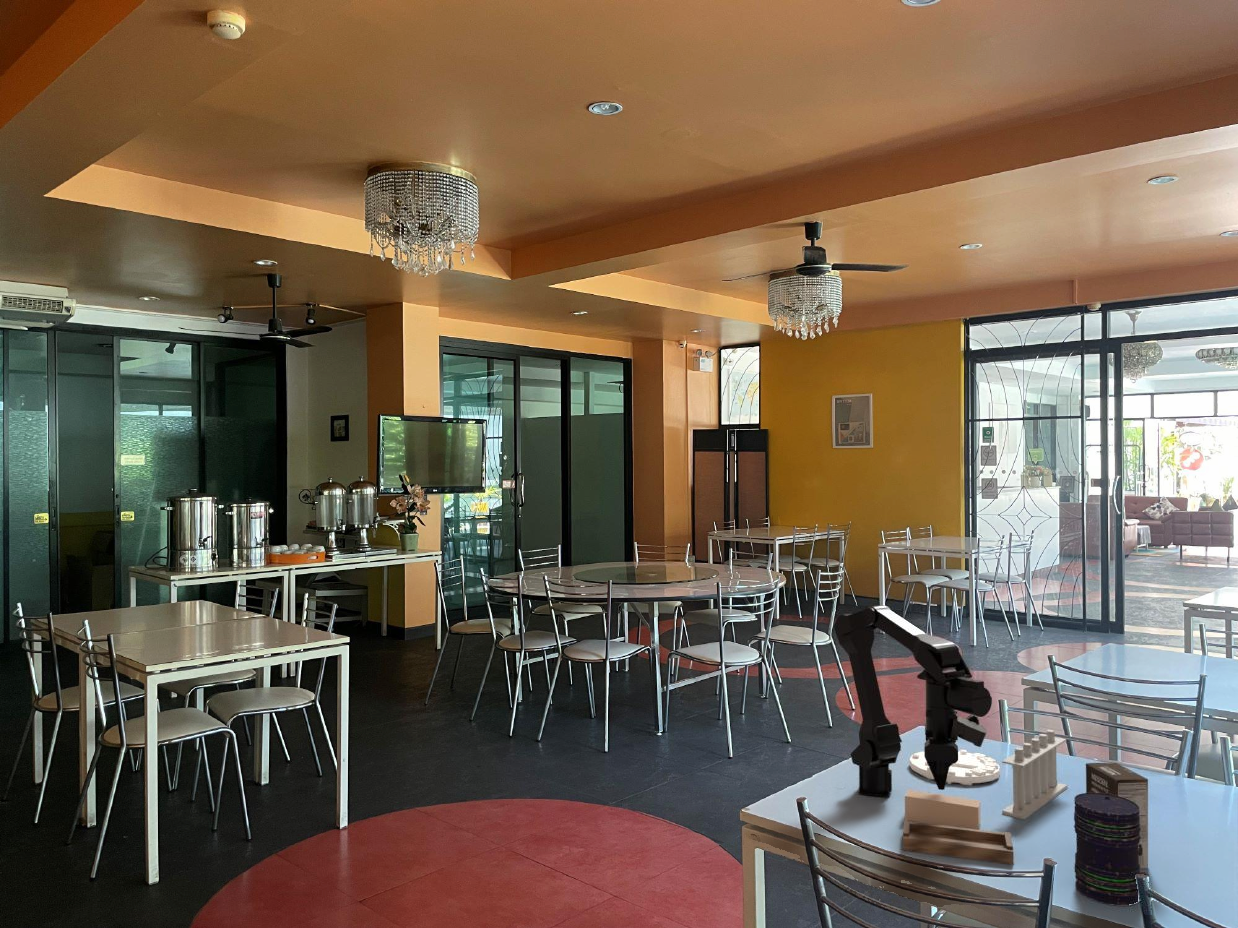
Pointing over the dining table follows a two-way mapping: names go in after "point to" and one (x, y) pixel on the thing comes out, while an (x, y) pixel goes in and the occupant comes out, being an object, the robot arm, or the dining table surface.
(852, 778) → the dining table surface
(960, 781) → the embossed medallion
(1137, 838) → the storage jar
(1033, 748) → the test tube rack
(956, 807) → the clay bar
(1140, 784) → the coffee box
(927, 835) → the cradle
